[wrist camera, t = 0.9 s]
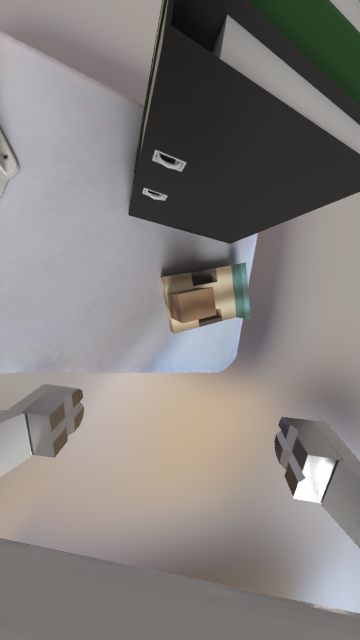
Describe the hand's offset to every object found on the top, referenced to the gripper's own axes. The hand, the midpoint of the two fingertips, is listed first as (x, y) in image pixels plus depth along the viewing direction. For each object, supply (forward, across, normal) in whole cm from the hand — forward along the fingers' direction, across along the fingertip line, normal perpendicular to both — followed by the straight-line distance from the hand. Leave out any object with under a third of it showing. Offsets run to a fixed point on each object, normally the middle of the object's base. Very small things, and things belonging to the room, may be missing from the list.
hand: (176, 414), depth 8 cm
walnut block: (+39, +3, +2) cm, 39 cm away
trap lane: (+45, -1, +1) cm, 45 cm away
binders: (+46, +4, -21) cm, 50 cm away
